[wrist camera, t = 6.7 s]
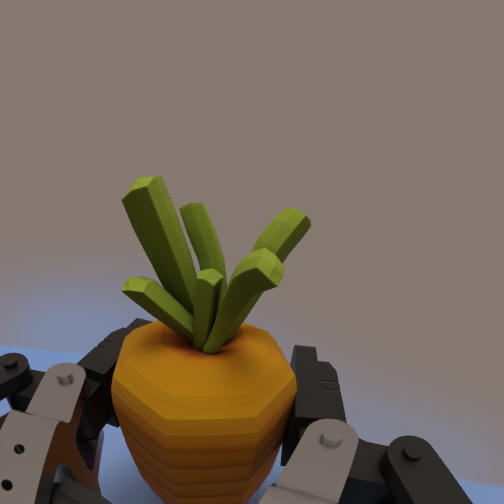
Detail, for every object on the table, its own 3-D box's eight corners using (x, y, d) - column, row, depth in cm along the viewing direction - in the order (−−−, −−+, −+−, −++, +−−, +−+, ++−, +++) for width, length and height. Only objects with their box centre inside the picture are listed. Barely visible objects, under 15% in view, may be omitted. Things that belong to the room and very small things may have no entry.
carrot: (263, 491, 11) (324, 190, 8) (246, 563, 7) (354, 193, 3) (176, 470, 12) (162, 176, 9) (142, 534, 7) (38, 176, 4)
